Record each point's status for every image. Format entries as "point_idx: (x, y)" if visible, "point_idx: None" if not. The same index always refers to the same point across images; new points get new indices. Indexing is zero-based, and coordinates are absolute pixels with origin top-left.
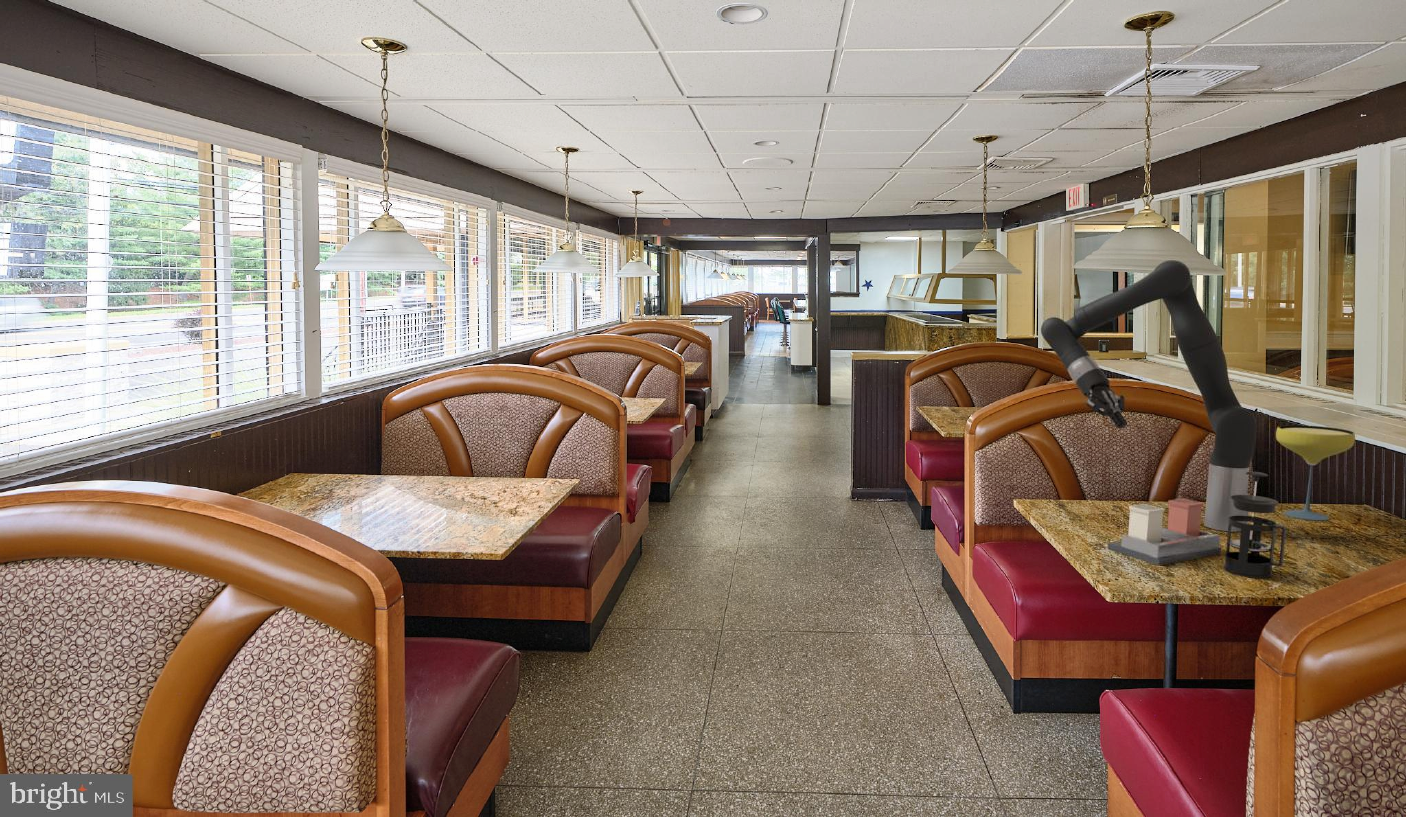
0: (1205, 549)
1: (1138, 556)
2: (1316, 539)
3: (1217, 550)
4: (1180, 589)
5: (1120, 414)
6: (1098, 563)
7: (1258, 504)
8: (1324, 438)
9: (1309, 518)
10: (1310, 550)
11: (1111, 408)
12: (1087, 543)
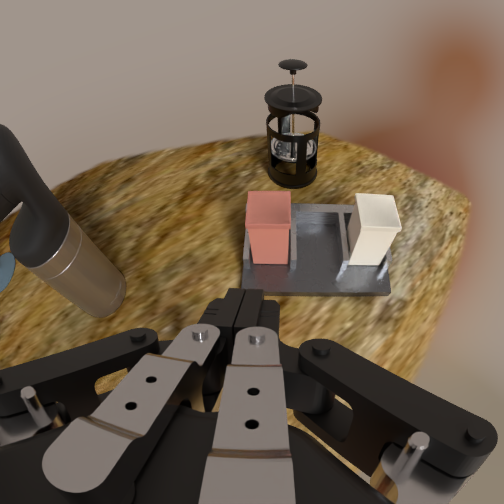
0: None
1: None
2: (86, 213)
3: None
4: (409, 172)
5: (222, 318)
6: (440, 255)
7: (312, 89)
8: None
9: (13, 261)
10: (138, 191)
11: (276, 353)
12: (395, 330)
